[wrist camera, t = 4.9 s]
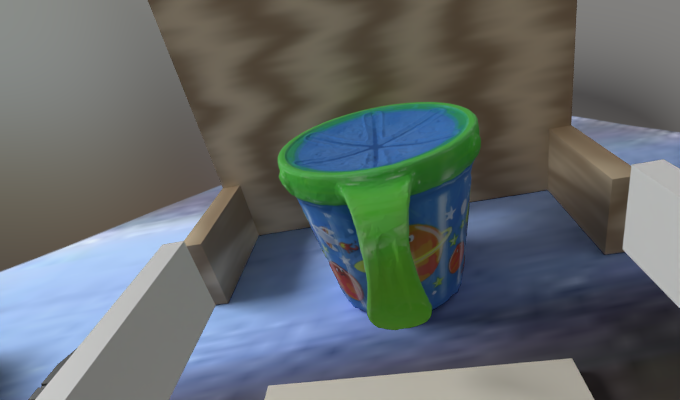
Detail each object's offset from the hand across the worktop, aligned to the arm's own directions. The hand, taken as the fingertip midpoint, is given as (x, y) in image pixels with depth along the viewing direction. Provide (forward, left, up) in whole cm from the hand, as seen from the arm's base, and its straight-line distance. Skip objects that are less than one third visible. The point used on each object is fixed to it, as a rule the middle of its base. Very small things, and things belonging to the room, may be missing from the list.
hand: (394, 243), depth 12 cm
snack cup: (-1, +10, -10) cm, 14 cm away
